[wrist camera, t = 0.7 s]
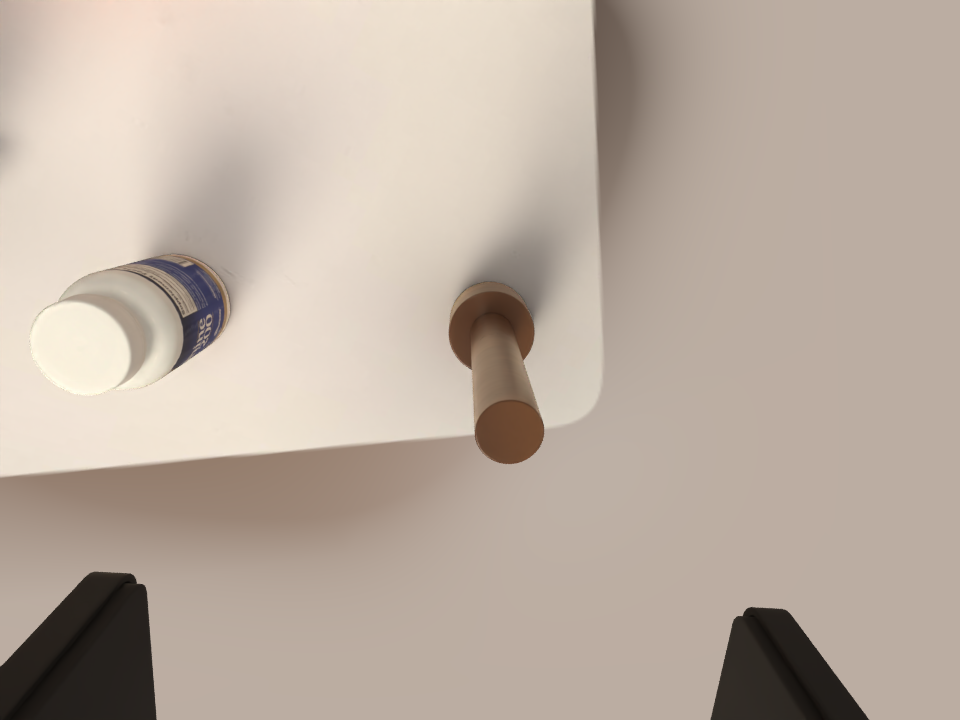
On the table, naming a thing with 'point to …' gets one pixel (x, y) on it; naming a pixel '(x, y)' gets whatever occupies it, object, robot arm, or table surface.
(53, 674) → the robot arm
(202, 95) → the table surface
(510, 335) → the wooden pestle
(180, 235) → the table surface
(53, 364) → the pill bottle
